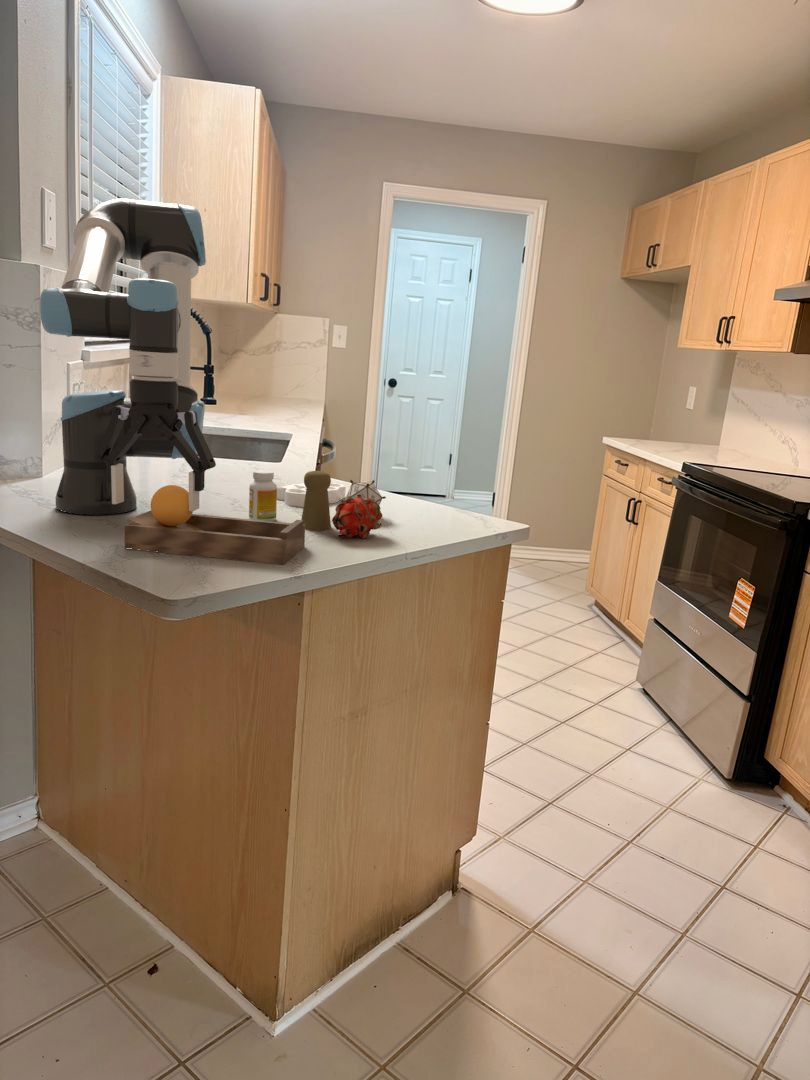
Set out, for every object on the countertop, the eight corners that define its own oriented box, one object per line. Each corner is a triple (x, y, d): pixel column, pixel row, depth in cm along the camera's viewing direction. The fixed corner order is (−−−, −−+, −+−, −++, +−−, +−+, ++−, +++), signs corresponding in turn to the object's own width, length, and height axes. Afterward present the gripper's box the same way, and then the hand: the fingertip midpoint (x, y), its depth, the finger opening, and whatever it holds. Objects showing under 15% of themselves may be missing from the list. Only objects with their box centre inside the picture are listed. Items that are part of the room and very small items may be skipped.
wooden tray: (124, 548, 127) (123, 519, 126) (157, 532, 139) (157, 505, 138) (284, 564, 124) (285, 534, 122) (304, 546, 136) (305, 518, 134)
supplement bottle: (281, 519, 156) (282, 471, 153) (266, 523, 151) (267, 474, 149) (259, 515, 158) (260, 468, 156) (243, 519, 153) (244, 471, 151)
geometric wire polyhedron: (367, 537, 161) (377, 505, 154) (331, 519, 162) (340, 487, 154) (384, 511, 167) (395, 479, 160) (350, 493, 168) (359, 461, 160)
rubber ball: (134, 504, 128) (165, 480, 126) (153, 497, 134) (183, 474, 133) (161, 538, 128) (191, 514, 127) (178, 529, 135) (208, 506, 133)
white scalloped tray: (310, 492, 189) (358, 501, 182) (259, 501, 174) (310, 511, 167) (311, 478, 188) (359, 487, 181) (260, 486, 174) (310, 496, 166)
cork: (336, 526, 153) (338, 471, 150) (323, 532, 147) (325, 475, 145) (308, 522, 155) (310, 467, 152) (294, 527, 149) (296, 471, 147)
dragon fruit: (381, 540, 150) (339, 559, 142) (354, 509, 153) (310, 526, 144) (400, 511, 145) (357, 529, 136) (371, 480, 147) (327, 495, 139)
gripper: (69, 374, 124) (74, 503, 129) (218, 384, 121) (218, 516, 126) (94, 373, 131) (98, 496, 136) (235, 383, 128) (234, 508, 133)
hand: (155, 506), depth 131 cm, fingers open, 13 cm apart
